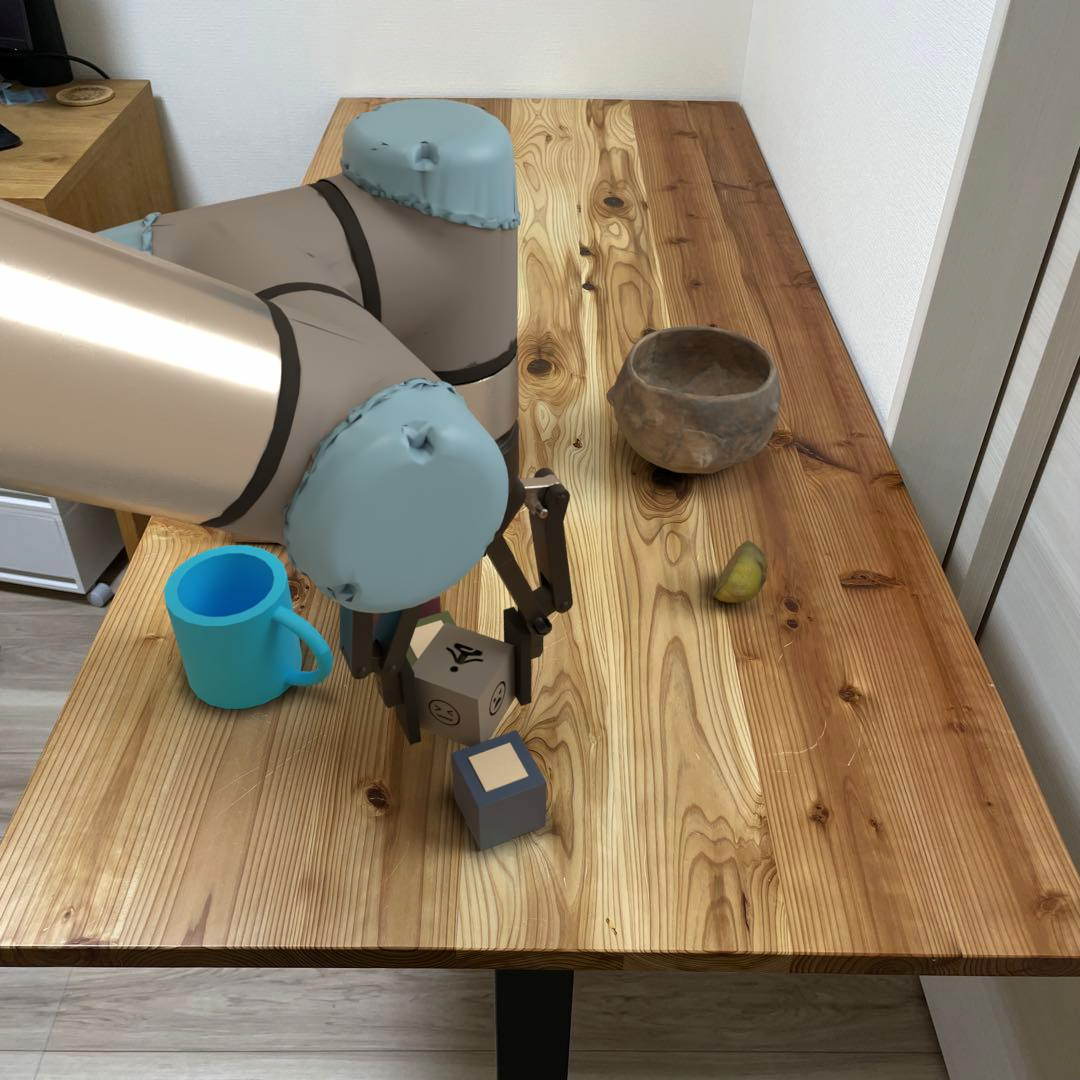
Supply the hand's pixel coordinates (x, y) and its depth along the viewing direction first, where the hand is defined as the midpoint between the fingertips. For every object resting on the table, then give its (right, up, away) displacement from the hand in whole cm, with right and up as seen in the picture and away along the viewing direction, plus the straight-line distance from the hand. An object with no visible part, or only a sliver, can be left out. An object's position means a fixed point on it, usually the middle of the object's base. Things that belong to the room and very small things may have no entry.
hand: (464, 708), depth 70 cm
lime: (+20, +7, +14) cm, 26 cm away
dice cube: (0, 0, 0) cm, 0 cm away
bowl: (+19, +19, +29) cm, 39 cm away
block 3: (+2, -6, -2) cm, 7 cm away
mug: (-15, +1, +7) cm, 16 cm away
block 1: (-5, +4, +10) cm, 13 cm away
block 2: (-3, +1, +6) cm, 7 cm away
